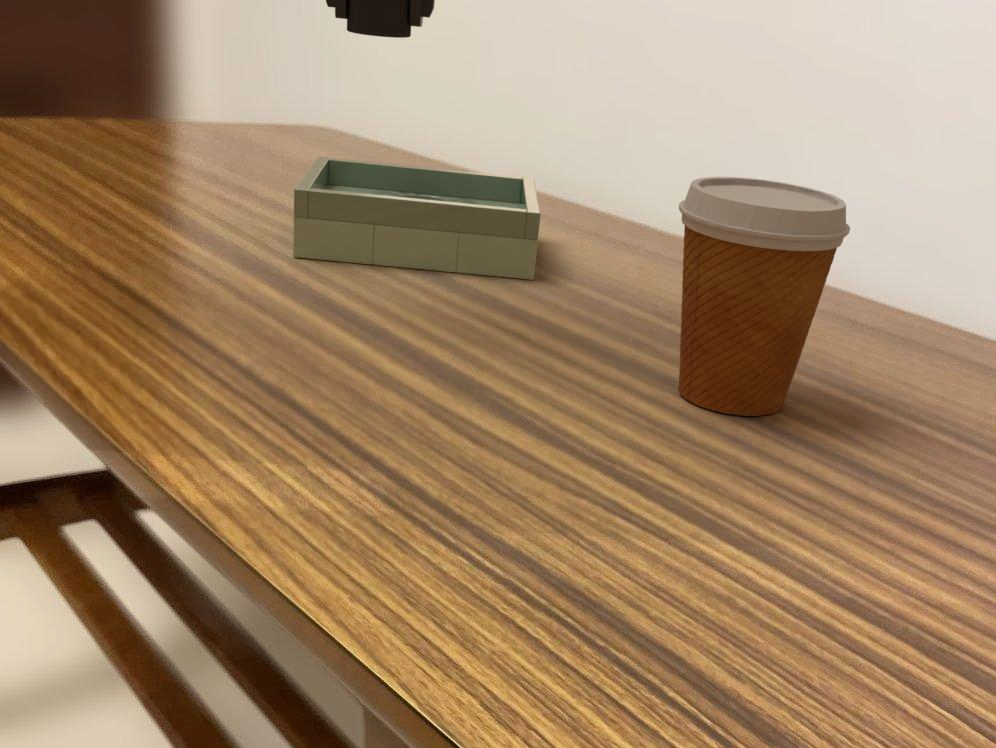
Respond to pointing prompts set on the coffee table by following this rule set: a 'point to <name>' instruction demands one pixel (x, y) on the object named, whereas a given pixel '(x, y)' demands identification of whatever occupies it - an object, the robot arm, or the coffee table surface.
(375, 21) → the stopper
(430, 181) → the basin rim
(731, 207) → the disposable coffee cup
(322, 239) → the green tray
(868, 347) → the coffee table surface
